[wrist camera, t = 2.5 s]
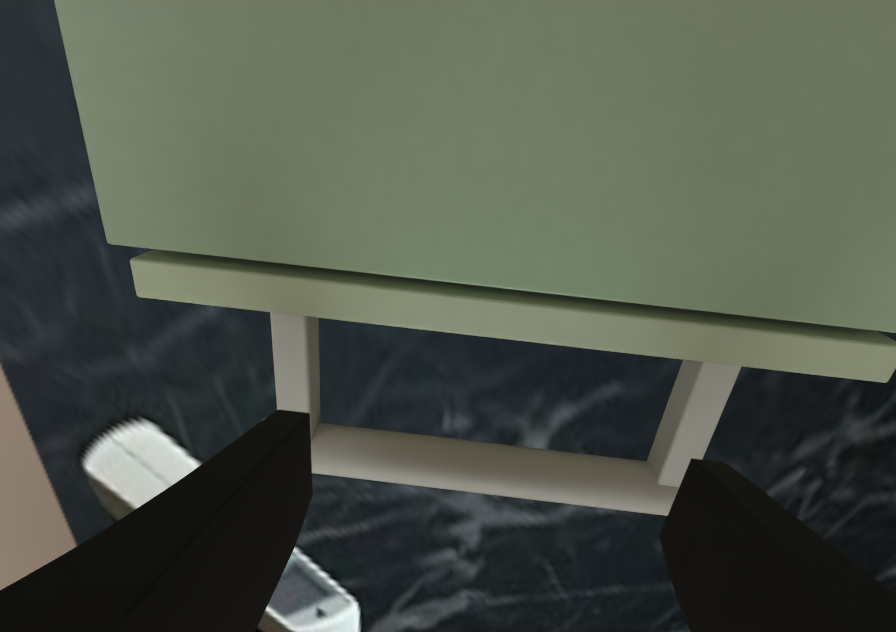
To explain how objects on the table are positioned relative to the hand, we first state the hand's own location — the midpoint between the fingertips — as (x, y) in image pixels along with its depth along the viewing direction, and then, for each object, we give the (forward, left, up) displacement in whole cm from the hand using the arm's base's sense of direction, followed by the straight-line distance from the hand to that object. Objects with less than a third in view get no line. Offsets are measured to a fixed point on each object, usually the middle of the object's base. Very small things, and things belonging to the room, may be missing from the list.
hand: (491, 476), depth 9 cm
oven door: (0, 0, -10) cm, 10 cm away
